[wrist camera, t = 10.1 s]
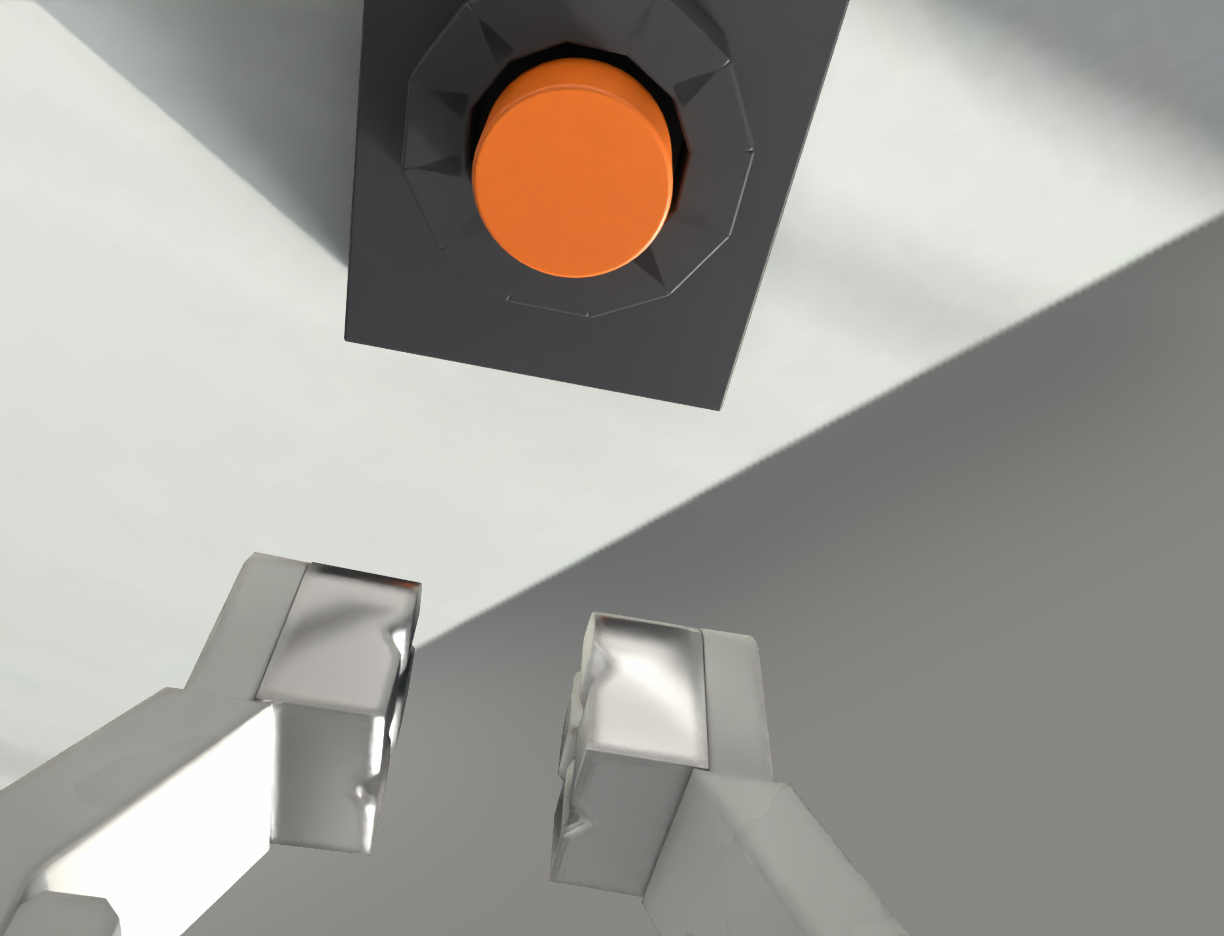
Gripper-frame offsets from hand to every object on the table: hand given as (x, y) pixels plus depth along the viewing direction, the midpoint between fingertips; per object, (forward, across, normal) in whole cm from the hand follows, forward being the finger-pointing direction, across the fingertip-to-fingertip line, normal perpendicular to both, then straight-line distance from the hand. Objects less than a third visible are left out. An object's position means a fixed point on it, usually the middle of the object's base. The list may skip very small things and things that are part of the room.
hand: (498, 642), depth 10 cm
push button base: (+17, 0, 0) cm, 17 cm away
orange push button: (+13, 0, 0) cm, 13 cm away
